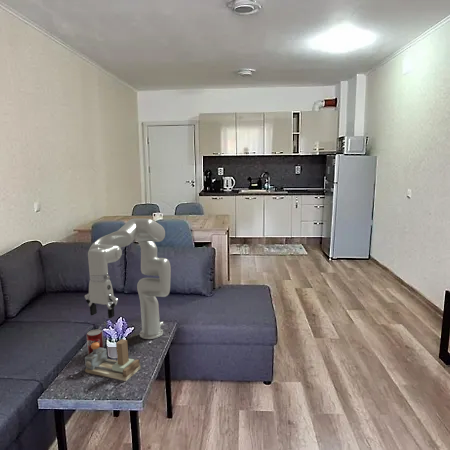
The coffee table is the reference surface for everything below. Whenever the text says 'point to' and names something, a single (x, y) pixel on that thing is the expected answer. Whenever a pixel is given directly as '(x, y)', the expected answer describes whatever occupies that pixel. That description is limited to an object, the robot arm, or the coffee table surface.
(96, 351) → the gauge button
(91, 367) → the rail bed
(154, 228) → the robot arm
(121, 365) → the carriage
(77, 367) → the coffee table surface
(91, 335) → the soda can
